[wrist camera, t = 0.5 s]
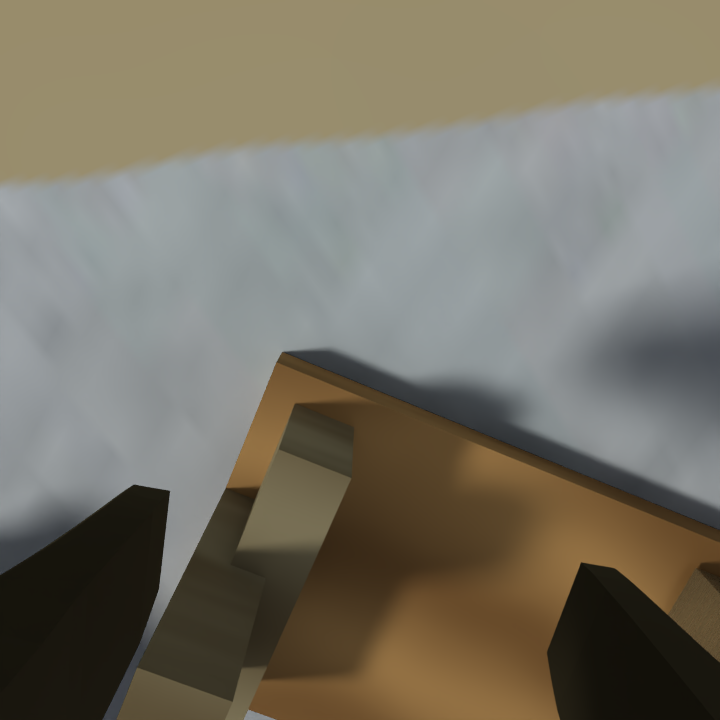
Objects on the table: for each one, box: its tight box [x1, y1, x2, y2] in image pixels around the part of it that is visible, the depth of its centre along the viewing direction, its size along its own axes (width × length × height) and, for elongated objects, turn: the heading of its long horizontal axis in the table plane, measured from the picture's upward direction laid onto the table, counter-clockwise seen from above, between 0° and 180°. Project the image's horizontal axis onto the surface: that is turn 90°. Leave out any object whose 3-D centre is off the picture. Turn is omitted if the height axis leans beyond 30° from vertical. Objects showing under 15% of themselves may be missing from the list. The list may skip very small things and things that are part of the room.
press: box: [117, 352, 720, 720], centre depth 19 cm, size 12×18×10 cm, turn 67°
